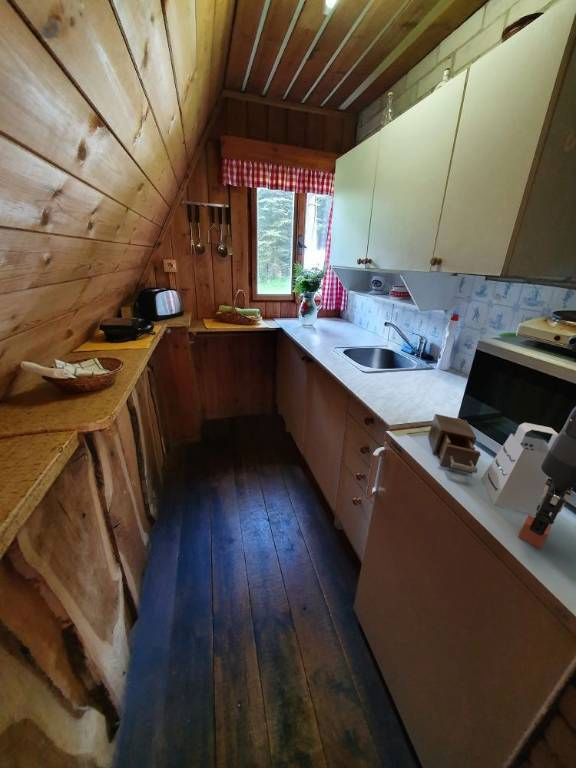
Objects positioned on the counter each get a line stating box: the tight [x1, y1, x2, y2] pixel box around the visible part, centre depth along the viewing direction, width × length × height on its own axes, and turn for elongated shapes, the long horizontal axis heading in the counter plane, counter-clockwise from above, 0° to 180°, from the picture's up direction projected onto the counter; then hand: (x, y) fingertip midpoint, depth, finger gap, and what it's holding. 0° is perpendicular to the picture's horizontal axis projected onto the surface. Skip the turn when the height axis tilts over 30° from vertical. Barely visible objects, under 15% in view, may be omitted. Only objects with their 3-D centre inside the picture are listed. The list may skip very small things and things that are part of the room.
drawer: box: [438, 433, 481, 475], centre depth 87 cm, size 15×8×7 cm, turn 163°
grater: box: [481, 422, 559, 516], centre depth 75 cm, size 10×10×20 cm
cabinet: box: [427, 413, 477, 457], centre depth 96 cm, size 12×10×9 cm
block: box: [517, 514, 552, 550], centre depth 65 cm, size 4×4×4 cm
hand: (539, 521), depth 64 cm, fingers open, 8 cm apart
